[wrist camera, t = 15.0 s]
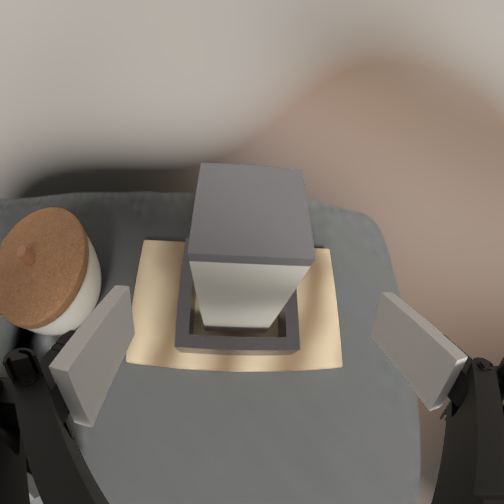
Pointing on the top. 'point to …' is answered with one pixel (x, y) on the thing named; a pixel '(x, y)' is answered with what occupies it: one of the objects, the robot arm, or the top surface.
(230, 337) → the socket collar
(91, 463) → the top surface
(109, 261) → the top surface
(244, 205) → the power strip
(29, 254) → the lidded bowl
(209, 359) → the mount board
